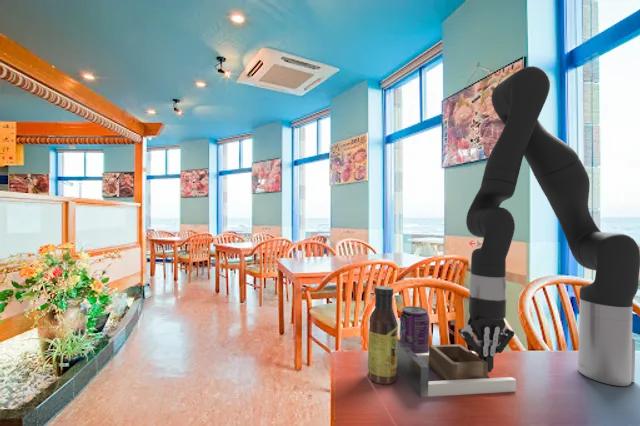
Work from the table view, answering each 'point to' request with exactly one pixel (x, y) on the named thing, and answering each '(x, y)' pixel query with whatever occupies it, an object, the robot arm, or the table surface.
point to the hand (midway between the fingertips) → (485, 370)
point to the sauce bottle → (383, 338)
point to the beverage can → (415, 329)
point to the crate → (456, 363)
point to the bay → (418, 372)
